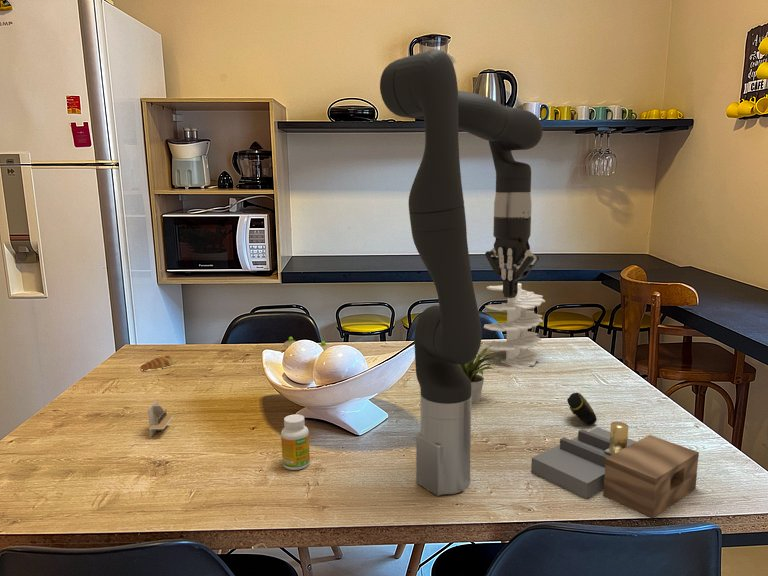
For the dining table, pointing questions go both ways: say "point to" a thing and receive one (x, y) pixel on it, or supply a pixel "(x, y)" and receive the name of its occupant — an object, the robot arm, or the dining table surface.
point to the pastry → (158, 363)
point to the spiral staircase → (517, 328)
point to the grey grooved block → (576, 462)
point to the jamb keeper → (650, 475)
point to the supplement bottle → (295, 443)
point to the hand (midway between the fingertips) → (510, 297)
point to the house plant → (472, 372)
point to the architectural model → (157, 418)
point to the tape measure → (581, 408)
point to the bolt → (618, 438)
